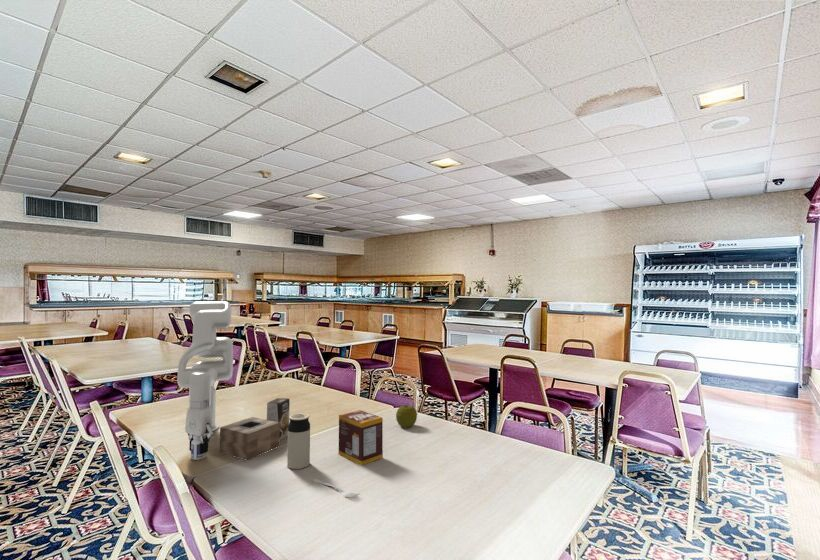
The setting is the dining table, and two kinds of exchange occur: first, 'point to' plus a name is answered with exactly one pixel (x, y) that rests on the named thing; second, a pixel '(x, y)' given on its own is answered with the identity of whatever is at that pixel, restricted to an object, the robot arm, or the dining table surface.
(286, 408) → the coffee box
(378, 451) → the supplement box
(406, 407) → the apple
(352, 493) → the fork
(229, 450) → the brown box with opening
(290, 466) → the travel mug
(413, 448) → the dining table surface
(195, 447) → the pill bottle
